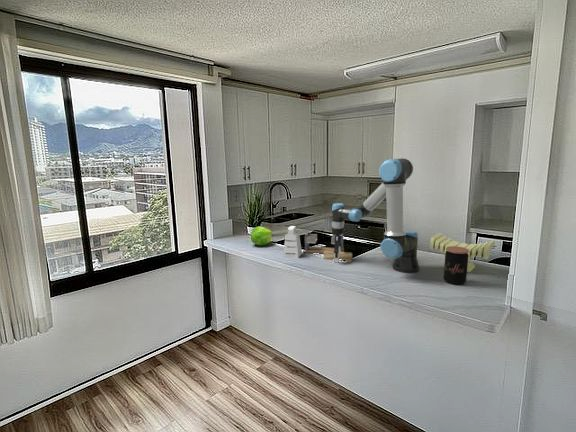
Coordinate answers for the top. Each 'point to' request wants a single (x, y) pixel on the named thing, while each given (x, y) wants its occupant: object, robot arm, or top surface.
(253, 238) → the lettuce
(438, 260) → the top surface
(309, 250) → the bracket stand
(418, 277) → the top surface
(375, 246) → the top surface
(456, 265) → the coffee jar
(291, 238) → the grater
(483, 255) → the slatted curved stool
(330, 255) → the rail
